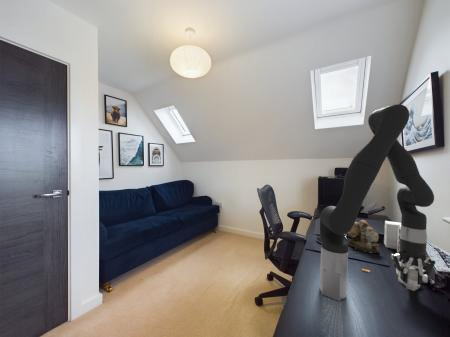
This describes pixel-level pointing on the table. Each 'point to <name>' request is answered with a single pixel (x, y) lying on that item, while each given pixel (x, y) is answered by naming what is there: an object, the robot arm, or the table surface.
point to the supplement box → (391, 234)
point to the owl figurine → (363, 237)
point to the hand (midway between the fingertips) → (410, 282)
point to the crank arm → (412, 279)
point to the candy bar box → (398, 239)
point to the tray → (422, 278)
